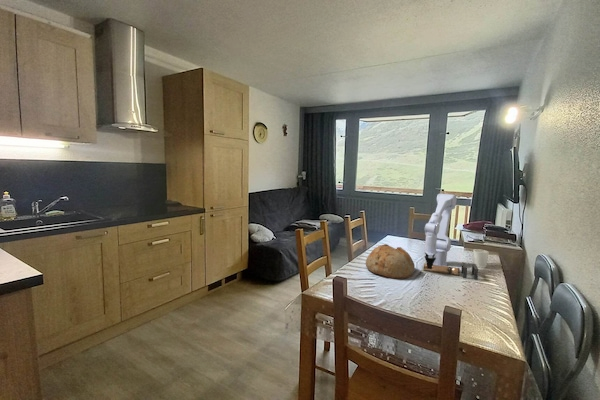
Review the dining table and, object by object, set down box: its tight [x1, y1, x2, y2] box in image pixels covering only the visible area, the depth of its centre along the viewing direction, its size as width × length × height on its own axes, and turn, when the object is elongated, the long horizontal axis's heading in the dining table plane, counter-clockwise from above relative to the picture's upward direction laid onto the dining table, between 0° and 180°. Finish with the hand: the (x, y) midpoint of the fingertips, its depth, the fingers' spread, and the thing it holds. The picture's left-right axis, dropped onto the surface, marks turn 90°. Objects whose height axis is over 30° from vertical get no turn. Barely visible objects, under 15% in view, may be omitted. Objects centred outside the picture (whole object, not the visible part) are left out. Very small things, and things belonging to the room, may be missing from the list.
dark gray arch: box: [460, 261, 468, 278], centre depth 153 cm, size 2×9×6 cm, turn 155°
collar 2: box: [471, 262, 479, 281], centre depth 151 cm, size 2×9×6 cm, turn 156°
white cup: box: [472, 248, 490, 269], centre depth 168 cm, size 8×8×10 cm
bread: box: [365, 243, 416, 279], centre depth 160 cm, size 26×23×15 cm
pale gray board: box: [421, 265, 482, 282], centre depth 157 cm, size 29×11×1 cm, turn 66°
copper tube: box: [423, 262, 461, 275], centre depth 157 cm, size 18×4×4 cm
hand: (429, 266), depth 161 cm, fingers open, 7 cm apart
